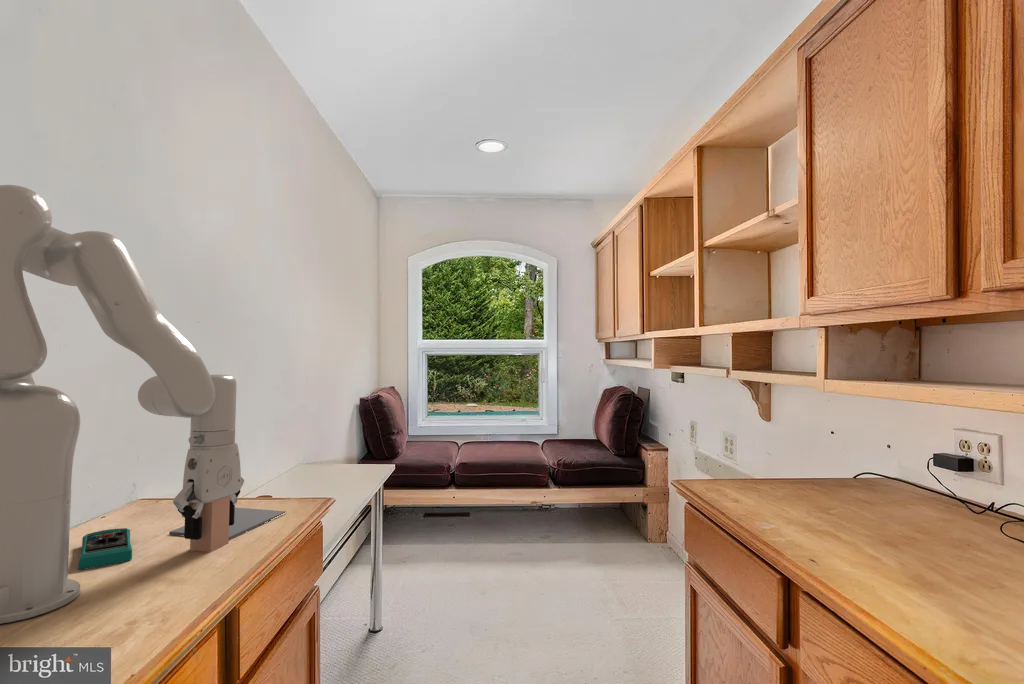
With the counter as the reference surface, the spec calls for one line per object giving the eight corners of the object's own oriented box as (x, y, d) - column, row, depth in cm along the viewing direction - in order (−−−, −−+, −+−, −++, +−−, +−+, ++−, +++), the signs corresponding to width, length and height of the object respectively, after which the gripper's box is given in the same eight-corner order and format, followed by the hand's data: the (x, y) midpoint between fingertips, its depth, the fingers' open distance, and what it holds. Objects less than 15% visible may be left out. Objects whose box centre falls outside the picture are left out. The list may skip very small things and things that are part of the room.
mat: (229, 540, 102) (229, 536, 102) (169, 534, 105) (169, 531, 105) (285, 513, 120) (286, 511, 120) (233, 509, 123) (233, 507, 123)
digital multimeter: (129, 539, 103) (130, 525, 103) (131, 563, 92) (132, 546, 92) (82, 547, 99) (82, 532, 99) (77, 573, 87) (78, 555, 87)
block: (210, 552, 96) (212, 497, 96) (189, 550, 97) (191, 496, 97) (228, 543, 101) (230, 491, 101) (208, 541, 101) (210, 490, 102)
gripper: (193, 447, 90) (190, 549, 90) (260, 433, 107) (258, 519, 107) (157, 445, 92) (153, 545, 91) (229, 432, 109) (226, 516, 108)
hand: (210, 530), depth 99 cm, fingers open, 7 cm apart
